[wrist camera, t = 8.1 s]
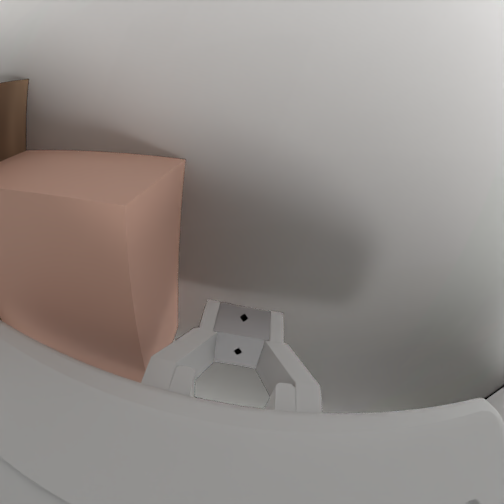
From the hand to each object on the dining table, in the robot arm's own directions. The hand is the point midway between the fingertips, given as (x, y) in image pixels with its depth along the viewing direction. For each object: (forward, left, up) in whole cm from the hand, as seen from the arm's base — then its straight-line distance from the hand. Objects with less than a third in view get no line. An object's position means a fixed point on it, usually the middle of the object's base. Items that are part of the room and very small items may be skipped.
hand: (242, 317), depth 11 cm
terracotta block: (+8, -1, -2) cm, 8 cm away
